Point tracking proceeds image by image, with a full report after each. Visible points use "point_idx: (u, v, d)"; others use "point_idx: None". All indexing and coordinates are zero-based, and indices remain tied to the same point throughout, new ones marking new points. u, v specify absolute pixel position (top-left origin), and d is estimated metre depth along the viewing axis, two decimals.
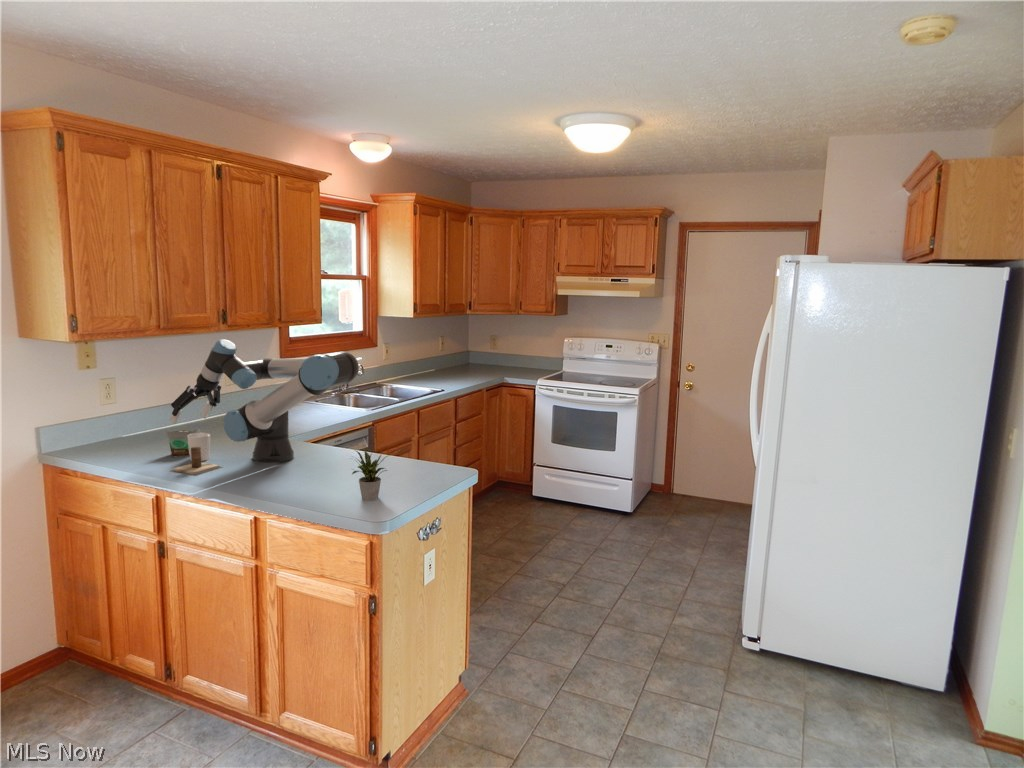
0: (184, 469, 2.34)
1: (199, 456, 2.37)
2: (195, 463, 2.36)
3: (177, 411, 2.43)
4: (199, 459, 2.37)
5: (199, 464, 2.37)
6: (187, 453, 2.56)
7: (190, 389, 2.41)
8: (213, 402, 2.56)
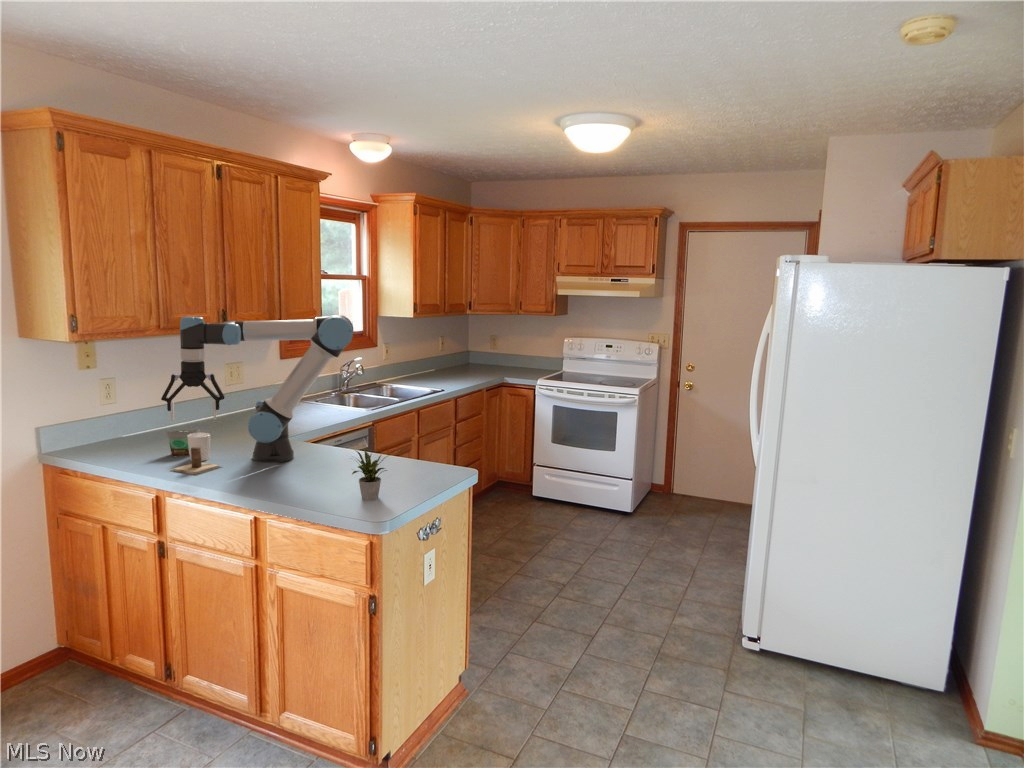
0: (184, 469, 2.34)
1: (199, 456, 2.37)
2: (195, 463, 2.36)
3: (169, 404, 2.31)
4: (199, 459, 2.37)
5: (199, 464, 2.37)
6: (187, 453, 2.56)
7: (171, 375, 2.31)
8: (214, 396, 2.36)
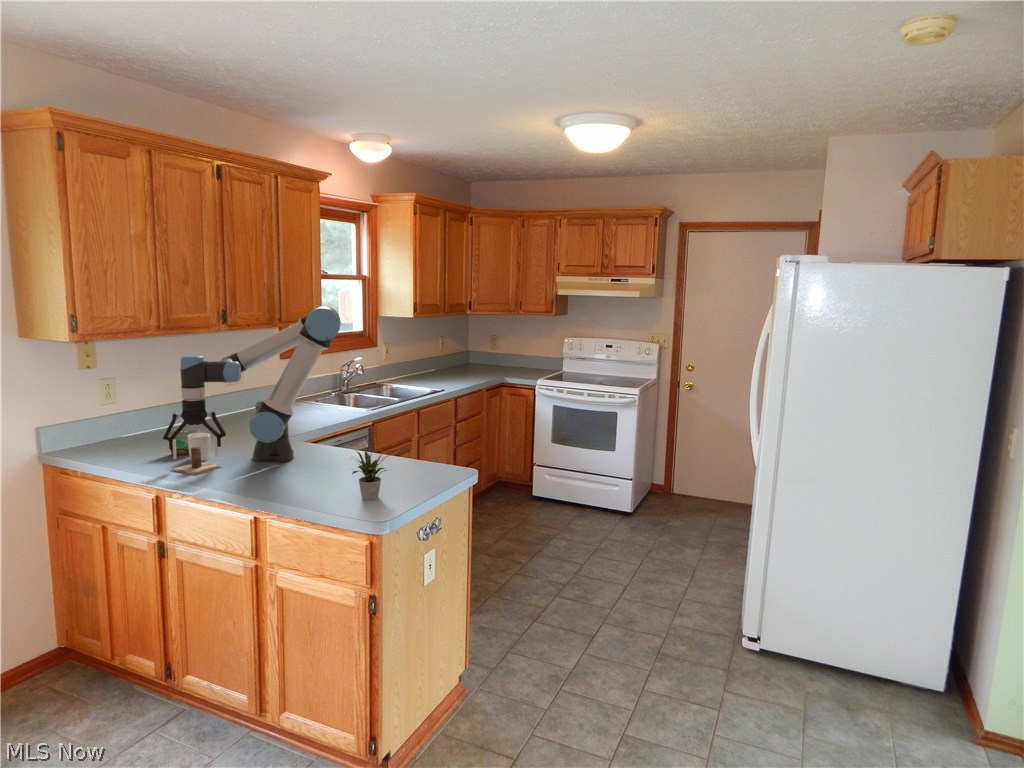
0: (184, 469, 2.34)
1: (199, 456, 2.37)
2: (195, 463, 2.36)
3: (171, 443, 2.33)
4: (199, 459, 2.37)
5: (199, 464, 2.37)
6: (187, 453, 2.56)
7: (173, 414, 2.32)
8: (215, 434, 2.37)
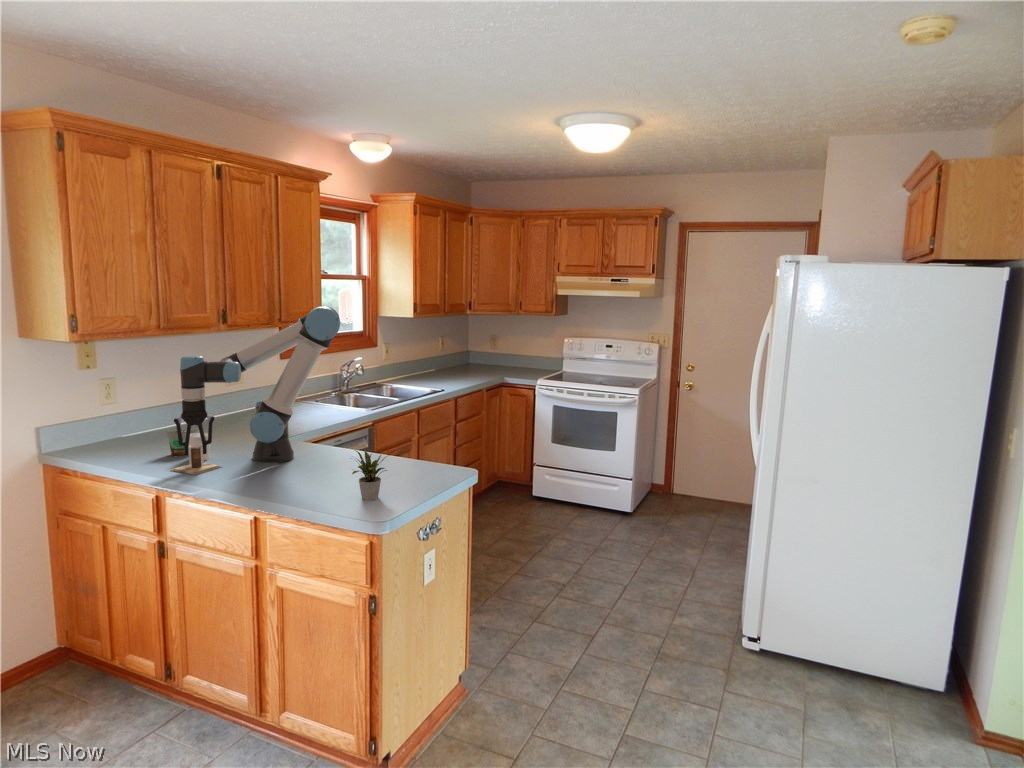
0: (184, 469, 2.34)
1: (199, 456, 2.37)
2: (195, 463, 2.36)
3: (186, 449, 2.35)
4: (199, 459, 2.37)
5: (199, 464, 2.37)
6: None
7: (174, 420, 2.32)
8: (203, 440, 2.36)
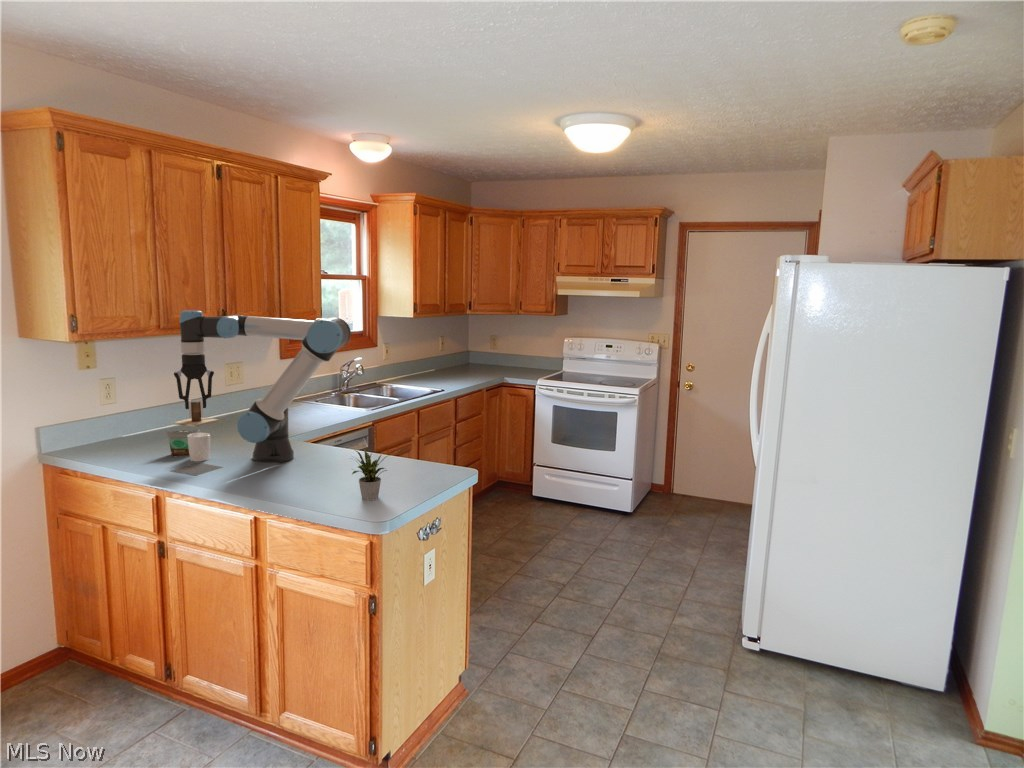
0: (185, 422, 2.37)
1: (199, 410, 2.40)
2: (195, 417, 2.39)
3: (186, 402, 2.38)
4: (199, 413, 2.40)
5: (199, 418, 2.40)
6: (187, 453, 2.56)
7: (174, 374, 2.35)
8: (203, 394, 2.40)
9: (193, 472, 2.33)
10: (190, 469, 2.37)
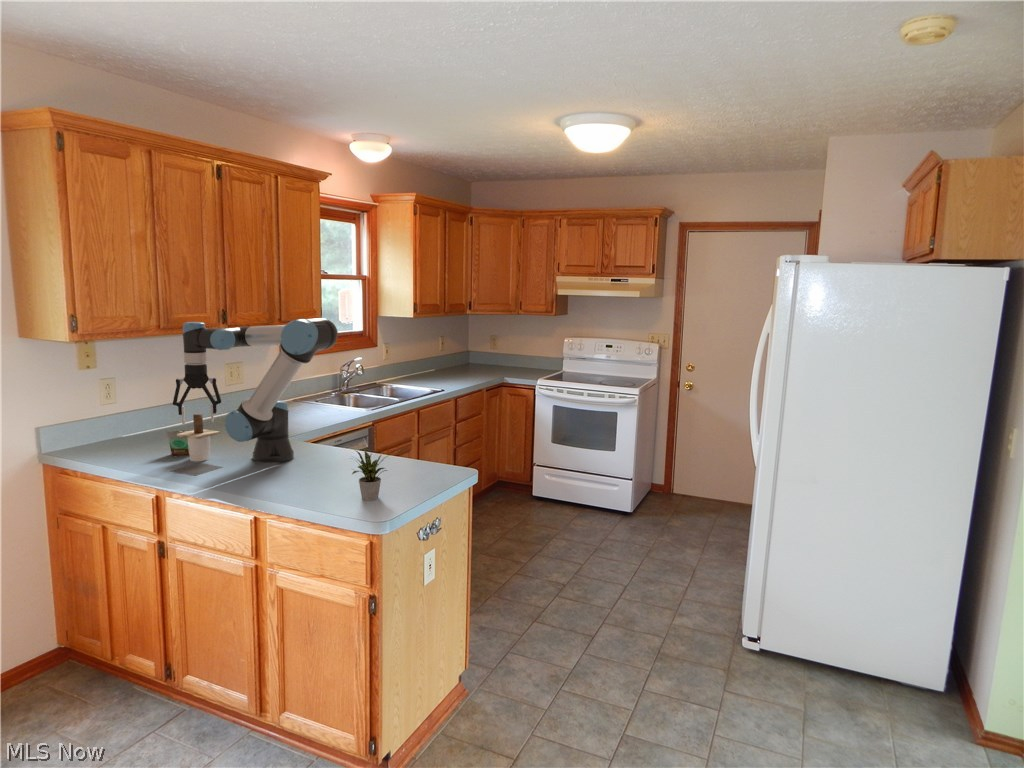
0: (187, 434, 2.46)
1: (201, 422, 2.49)
2: (197, 429, 2.48)
3: (180, 408, 2.45)
4: (201, 425, 2.49)
5: (201, 430, 2.49)
6: (187, 453, 2.56)
7: (176, 380, 2.44)
8: (212, 400, 2.49)
9: (193, 472, 2.33)
10: (190, 469, 2.37)
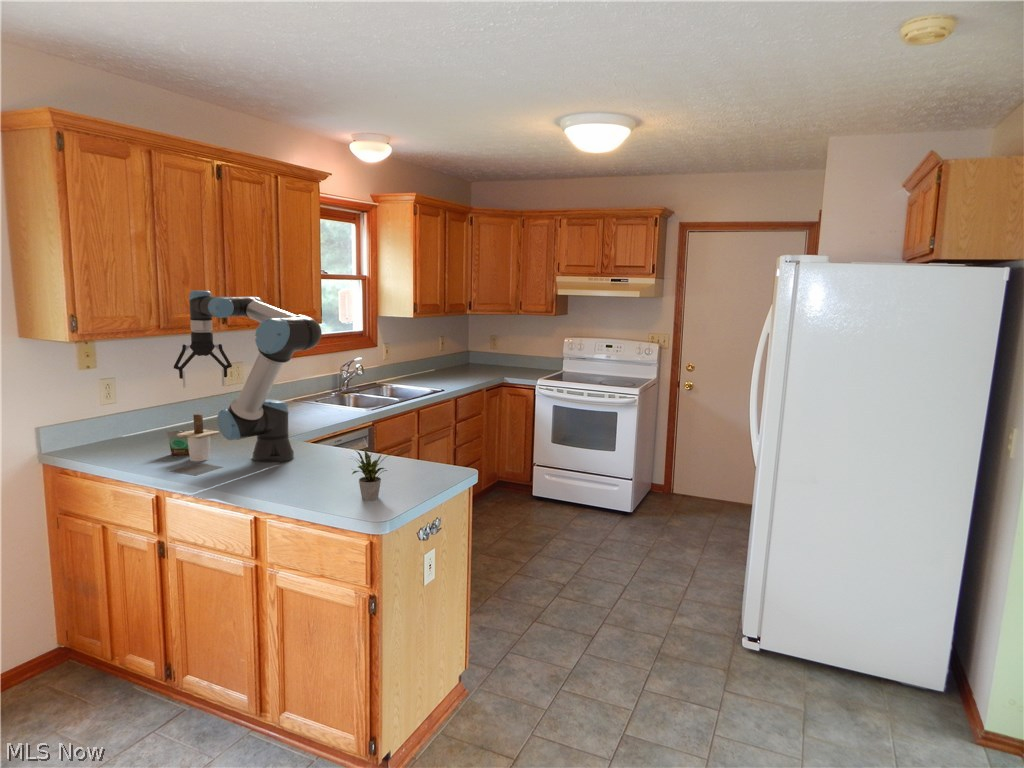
0: (187, 434, 2.46)
1: (201, 422, 2.49)
2: (197, 429, 2.48)
3: (180, 372, 2.49)
4: (201, 425, 2.49)
5: (201, 430, 2.49)
6: (187, 453, 2.56)
7: (182, 345, 2.48)
8: (222, 365, 2.55)
9: (193, 472, 2.33)
10: (190, 469, 2.37)
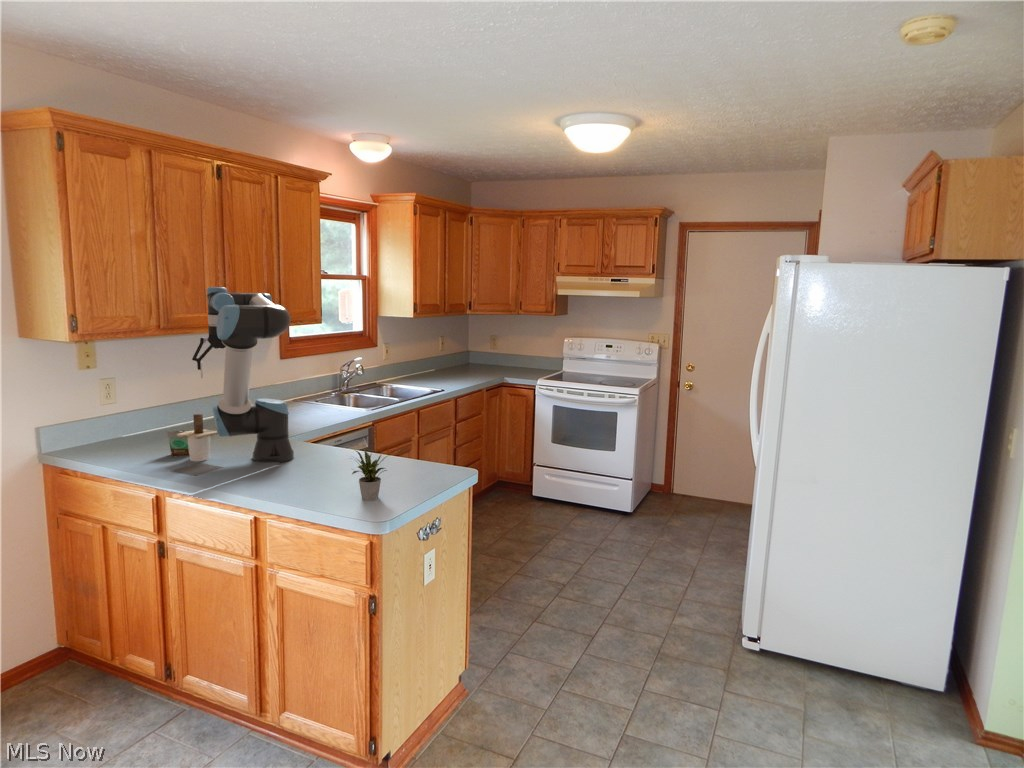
0: (187, 434, 2.46)
1: (201, 422, 2.49)
2: (197, 429, 2.48)
3: (199, 364, 2.65)
4: (201, 425, 2.49)
5: (201, 430, 2.49)
6: (187, 453, 2.56)
7: None
8: None
9: (193, 472, 2.33)
10: (190, 469, 2.37)
